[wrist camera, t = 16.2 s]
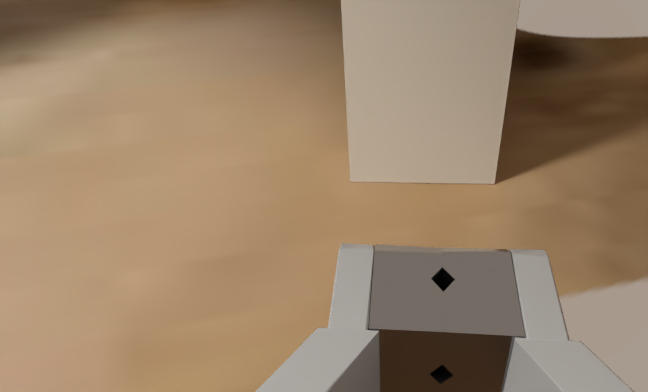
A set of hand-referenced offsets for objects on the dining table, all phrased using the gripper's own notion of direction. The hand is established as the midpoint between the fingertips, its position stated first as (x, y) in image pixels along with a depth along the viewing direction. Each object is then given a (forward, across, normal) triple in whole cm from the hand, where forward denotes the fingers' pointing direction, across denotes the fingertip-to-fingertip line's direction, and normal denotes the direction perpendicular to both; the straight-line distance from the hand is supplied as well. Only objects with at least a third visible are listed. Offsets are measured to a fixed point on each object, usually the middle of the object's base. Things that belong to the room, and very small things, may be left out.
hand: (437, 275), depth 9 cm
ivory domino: (+11, 0, +6) cm, 13 cm away
